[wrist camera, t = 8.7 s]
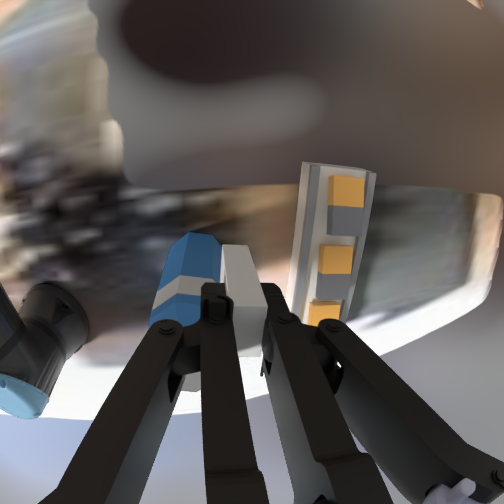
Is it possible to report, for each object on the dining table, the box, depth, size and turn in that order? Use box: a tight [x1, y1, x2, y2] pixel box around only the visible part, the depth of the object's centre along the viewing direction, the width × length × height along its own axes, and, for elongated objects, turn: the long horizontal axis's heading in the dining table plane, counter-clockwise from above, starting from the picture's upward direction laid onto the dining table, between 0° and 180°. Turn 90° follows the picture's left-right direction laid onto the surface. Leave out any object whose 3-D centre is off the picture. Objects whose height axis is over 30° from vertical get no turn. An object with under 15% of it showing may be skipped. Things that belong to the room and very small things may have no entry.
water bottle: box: [149, 232, 222, 392], centre depth 36 cm, size 9×9×25 cm
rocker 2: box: [315, 244, 353, 301], centre depth 44 cm, size 5×8×2 cm, turn 176°
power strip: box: [286, 161, 376, 324], centre depth 47 cm, size 10×30×5 cm, turn 176°
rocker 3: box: [307, 301, 340, 326], centre depth 48 cm, size 5×8×2 cm, turn 176°
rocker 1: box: [326, 175, 364, 237], centre depth 40 cm, size 5×8×2 cm, turn 176°
